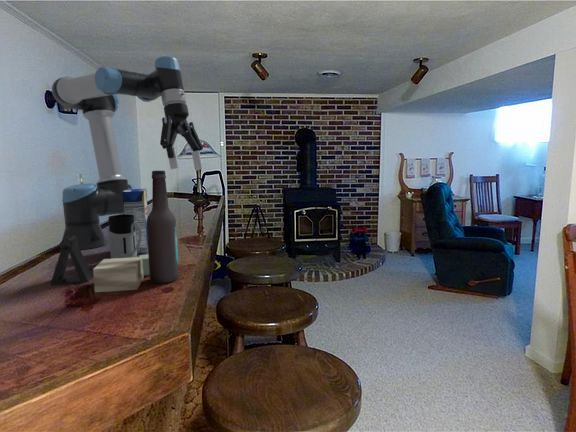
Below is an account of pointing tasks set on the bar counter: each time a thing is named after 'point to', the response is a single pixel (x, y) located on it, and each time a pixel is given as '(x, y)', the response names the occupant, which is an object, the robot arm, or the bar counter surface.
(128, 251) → the grey black handled cylinder
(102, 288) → the maple block
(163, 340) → the bar counter surface
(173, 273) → the beer bottle
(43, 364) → the bar counter surface
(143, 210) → the beverage box
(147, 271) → the sage cube
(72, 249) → the phone stand
